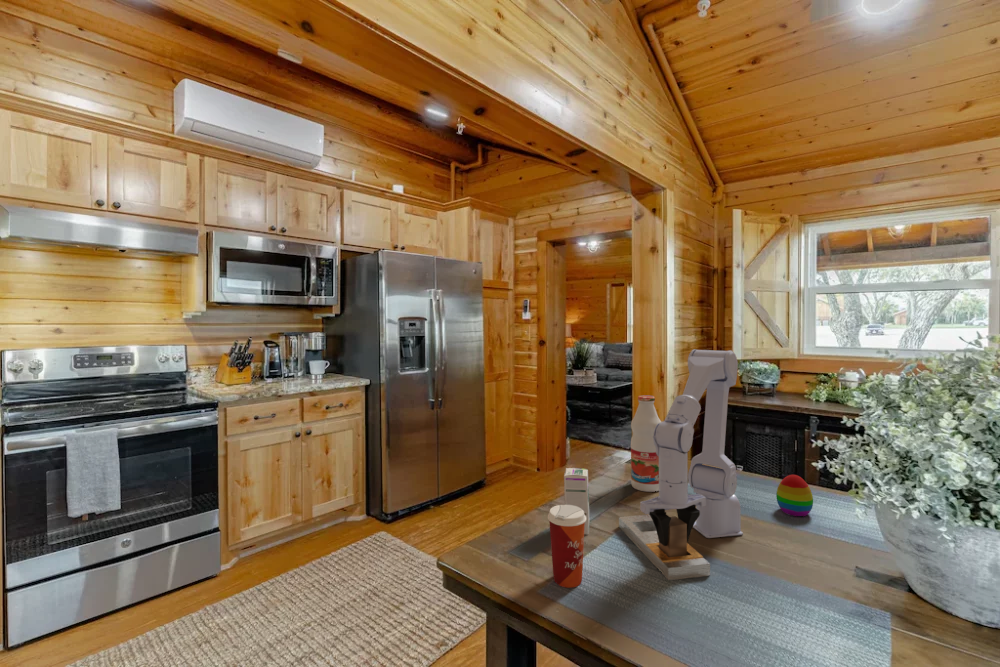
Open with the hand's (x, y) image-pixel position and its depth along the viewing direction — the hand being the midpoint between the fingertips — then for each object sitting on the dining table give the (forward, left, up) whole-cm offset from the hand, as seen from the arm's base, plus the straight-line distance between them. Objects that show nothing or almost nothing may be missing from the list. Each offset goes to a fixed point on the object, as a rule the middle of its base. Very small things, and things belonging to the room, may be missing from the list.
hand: (673, 542), depth 98 cm
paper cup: (+24, +2, -5) cm, 25 cm away
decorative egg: (-44, -17, -5) cm, 47 cm away
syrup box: (+15, -19, -5) cm, 25 cm away
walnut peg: (0, 0, -5) cm, 5 cm away
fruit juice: (-15, -42, -5) cm, 45 cm away
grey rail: (0, -6, -4) cm, 7 cm away
